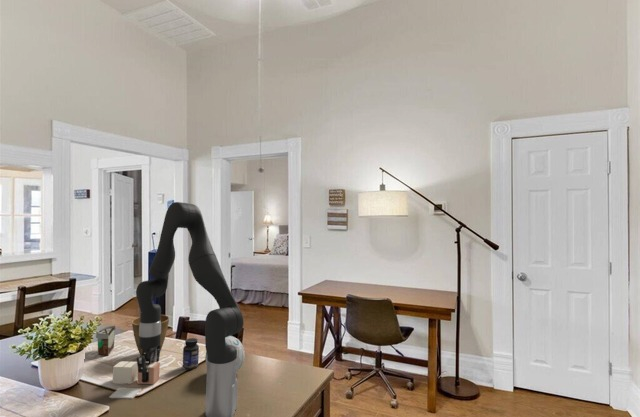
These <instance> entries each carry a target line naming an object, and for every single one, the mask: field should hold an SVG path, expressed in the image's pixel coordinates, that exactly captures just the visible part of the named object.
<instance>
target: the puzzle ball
mask: <svg viewBox="0 0 640 417" xmlns="http://www.w3.org/2000/svg"><path fill="white" fill-rule="evenodd" d="M225 343H226V344H228V345H232V346H234V347H236V349H237V367H236V373H237V372H238V371H239V370H240V368H242V365H243V363H244V360H245V357H246V356H245V355H246V354H245V353H246V352H245V348H244V345H243V343H242V342H241V341H240V340H239V339H238V338H236V337H235V336H233V335H231V336H228V337H225ZM205 364H206V366H207V352H205Z"/></svg>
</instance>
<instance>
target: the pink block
mask: <svg viewBox="0 0 640 417" xmlns="http://www.w3.org/2000/svg"><path fill="white" fill-rule="evenodd" d="M146 363H149V362H146ZM160 363H161V362H159V361H158V362H152V363H151V365H150V367H149V381H148V382H142V373H139V372H138V378H137V379H136V380H137V381H136V382H137V383H136V384H137V385H154V384H156V382H157V381H159V379H160V370H161V369H160V367H161V366H160V365H161V364H160ZM146 369H147V365H146Z"/></svg>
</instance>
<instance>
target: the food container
mask: <svg viewBox="0 0 640 417" xmlns="http://www.w3.org/2000/svg"><path fill="white" fill-rule="evenodd" d="M95 338H96V339H97V340H96V341H97V354H98V355H99V356H101V357H109V356H110V354H111V353H112V351H114V348H115V338H116V325H110V326H105V327H101V328H99V329H98V330H97V331H96V334H95Z"/></svg>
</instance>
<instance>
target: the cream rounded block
mask: <svg viewBox="0 0 640 417" xmlns="http://www.w3.org/2000/svg"><path fill="white" fill-rule="evenodd" d="M136 380H138V366H137V361H123V360H122V361H121V360H120V361H119V362H117V363H116V364H115V365H114V366H113V367H112V384H123V383H128V384H127V385H129V384H130V385H131V384H133V383H134V382H135V381H136Z"/></svg>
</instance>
